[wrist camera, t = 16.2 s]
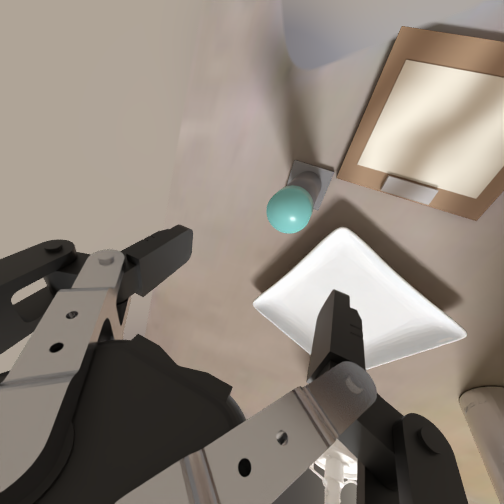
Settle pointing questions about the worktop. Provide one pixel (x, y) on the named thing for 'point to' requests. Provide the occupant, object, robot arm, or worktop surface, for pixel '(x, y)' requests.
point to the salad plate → (357, 301)
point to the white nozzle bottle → (336, 470)
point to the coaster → (322, 173)
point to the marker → (294, 203)
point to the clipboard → (434, 124)
